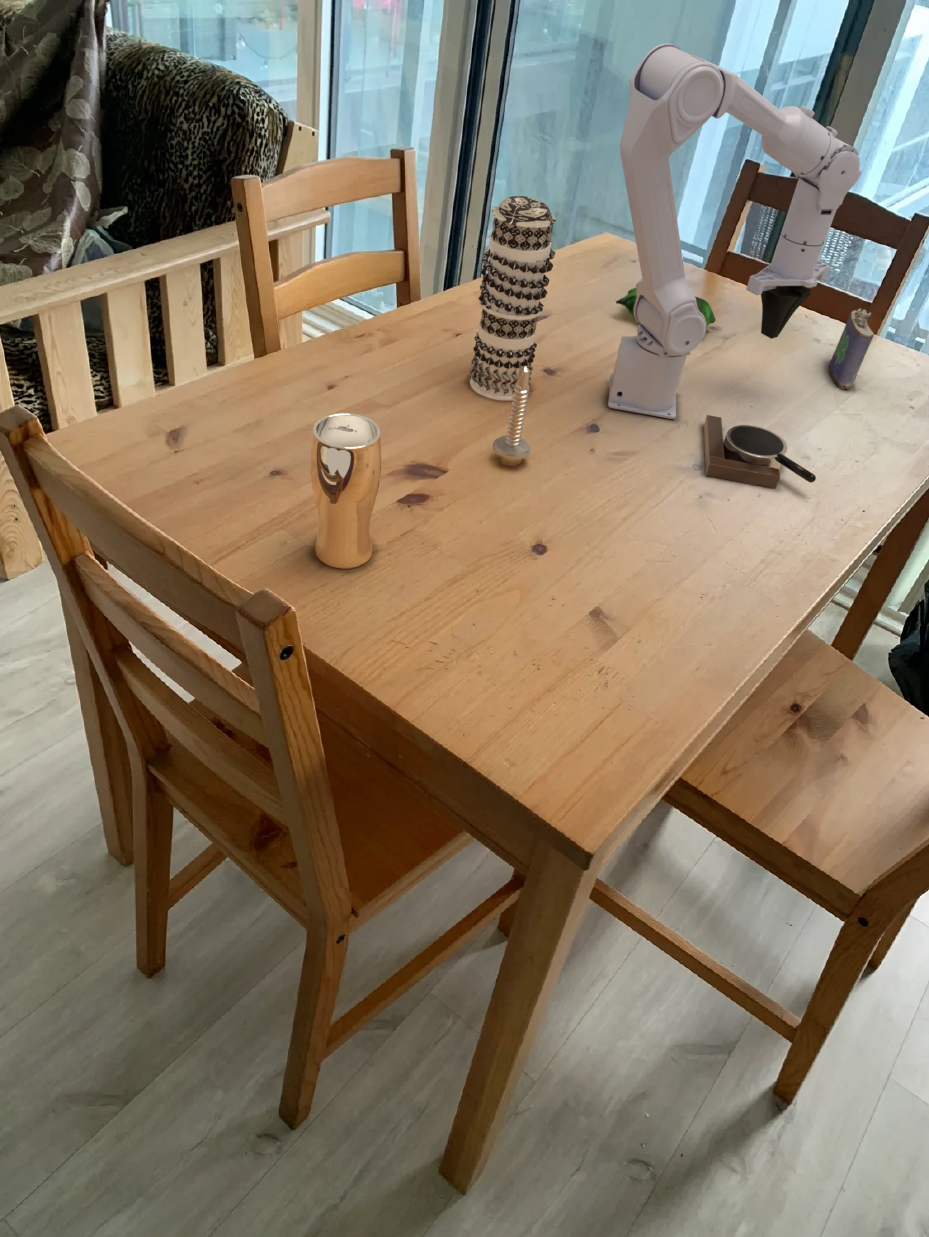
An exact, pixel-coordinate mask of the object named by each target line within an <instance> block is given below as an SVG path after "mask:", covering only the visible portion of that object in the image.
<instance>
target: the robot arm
mask: <svg viewBox="0 0 929 1237" xmlns="http://www.w3.org/2000/svg"><path fill="white" fill-rule="evenodd" d="M628 84H629V94H630V95H629V96H630V100H629V103H628V107H627V111H626V116H625V121H624V125H623V128H622V133H621V138H620V142H619V155H620V160H621V166H622V172H623V177H624V182H625V188H626V195H627V200H628V205H629V211H630V216H631V222H632V223H631V224H632V228H633V233H634V238H635V239H634V240H635V245H636V250H637V256H638V262H639V267H640V273H641V279H639V281H638V282H637V283H635V288H636V290H637V298H636V302H635V305H634V316H635V318H634V319H635V321H636V322H637V323H638V324H637V329H636V333H637V334H636V335H634V336H633V335H632V336H627V335H623V336H621V339H620V341H619V346H618V349H617V350H618V351H617V355H616V358H615V363H614V367H613V371H612V373H611V374H610V376H609V381H608V387H609V392H608V401H607V406H608V408H610V409H613V410H614V409H615V410H620V411H625V412H626V411H627V412H630V413H631V412H632V413H635V414H636V413H637V414H641V415H648V416H653V417H659V418H664V419H671V420H674V419H676V417H677V391H678V389H679V384H680V381H681V379H682V378H681V377H682V374H683V371H684V367H685V363H686V360H687V358H688V356H690V354H691V352H692V351H694V350H695V349H696V348H697V347H698V346H699V345H700V344H701V343H702V341H703V339H704V337H705V335H706V332H707V330H706V320H705V317H704V316H703V314H702V313H701V312H700V311H699V310H698V308H697V302H696V298H695V297H696V296H695V293H694V292H693V290H692V288H691V286H690V284H689V282H688V280H687V278H686V272H685V266H684V259H683V252H682V245H681V244H682V243H681V237H680V231H679V230H680V229H679V224H678V216H677V208H676V202H675V193H674V187H673V180H672V172H671V165H670V157H671V156H672V154H673V153H674V152H676V151H677V150H678V149H680V147H681V146H682V145H683V144H684V143H686V142H687V140H689V139H690V138H691V137H692V136H693V135H694V134H695V133H696V132H697V131H698V130H699V129H701V128H702V127H703V126H704V125H705V124H706V123H707V122H708V120H710V119H711V118H714V119H718V120H719V119H720V118H722V117H723V116H724V115H725V114H726V113H727V114H728V115H730V116H732V117H733V118H734V119H736V120H738V121H739V122H741V123H742V124H744V125H745V126H747V127H749V128H750V129H751V130H753V131H755V132H756V133H757V134H759V135H761V137H760V138H761V139H760V145H761V150H762V151H763V152H764V153H765V154H766V155H767V156H769V157H770V158H771V159H773V160H774V161H775V162H777V163H779V164H780V165H781V166H783V167H785V168H786V169H787V170H789V171H790V172H791V173H793V174H794V176H795V177H796V179H798V181H797V183H796V186H795V190H794V192H793V195H792V199H791V202H790V204H789V207H788V211H787V214H786V217H785V220H784V222H783V226H782V229H781V232H780V235H779V238H778V241H777V243H776V247H775V251H774V253H773V256H772V258H771V262H770V263H769V264H768V265H767V266H766V267H764V268H763V269H761V270H760V271H759V272H757V273H756V274H752V275H750V276H749V278H748V281H747V284H746V288H745V290H746V291H747V292H750V293H751V294H753V295H755V296H760V299H761V310H762V311H761V324H760V325H761V326H760V328H761V329H760V334H762V335H763V336H765V337H767V338H769V339H771V340H772V339H776V338H778V337H779V335H780V334H781V333H782V331H783V330H784V328H785V327H786V325H787V323H788V321H789V320H790V319H791V317H792V316H793V315H794V313H795V312H796V311H797V310H798V308H799V307H800V306H801V305H802V304H803V303H804V302H805V301H806V300H807V299H809V297H811V296H810V295H811V293H812V289H810V288H815V287H817V286H818V282H819V281H820V282H821V281H825V280H826V279H827V276H828V274H829V270H830V267H831V266H830V265H829V264H826V263H824V262H822V261H820V260H819V259H820V256H821V253H822V250H823V248H824V245H825V243H826V240H827V237H828V234H829V232H830V229H831V226H832V223H833V220H834V217H835V215H836V212H837V210H838V209H839V207H840V206H842V205H843V202H844V199H845V197H846V195H847V194H848V193H849V191H850V190H851V189H852V188H853V187H854V186H855V185H856V184H857V182H858V181H859V179H860V177H861V175H862V173H863V172H862V171H861V170H860V167H861V160H860V159H861V158H860V156H859V155H860V153H859V151H858V150H857V149H856V148H855V147H854V146H852V145H850V144H848V143H846V142H844V141H842V140H841V139H839V138H837V135H838V131H837V130H836V129H834V128H833V127H831V126H826V127H824V126H823V125H822V124H820V123H819V122H818V121H816V119H814V118H813V117H814V115H815V112H814V110H812V109H811V108H809V107H808V106H806V105H803V104H802V105H801V106H800V107H798V106H795V105H789V106H785V107H783V108H780V109H779V108H778V107H777V106H776V105H774V104H773V103H772V102H770V101H769V100H768V99H767V98H766V97H764V96H763V95H762V94H761V93H759V91H757V90H756V89H755V88H753V87H752V85H750V84H748V83H747V82H746V81H745V80H744V79H743V78H742V77H740V76H739V75H737V74H735V73H733V72H731V71H729V70H727V69H725V68H723V67H722V66H719V65H717V64H715V63H713V62H710V61H708V60H706V59H705V58H702V57H700V56H697V55H695V54H693V53H690V52H688V53H687V52H685V51H684V50H682V49H681V48H680V47H679V46H677V45H675V44H673V43H668V42H667V43H660V44H658V45H655V46H654V47H653V48H651V49H650V50H648V51H647V53H646V54H645V55H644V56H643V57H642V59H641V60H640V62H639V64H638V65H637V66H636V69H635V70H634V71H633V73H632V74H631V76H630V78H629V80H628Z"/></svg>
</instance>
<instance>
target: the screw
mask: <svg viewBox="0 0 929 1237" xmlns="http://www.w3.org/2000/svg"><path fill="white" fill-rule="evenodd" d="M529 375H530V370H529V369H528V368H527V367H526V366H523V367H520V369H519V375H518V381H517V384H515V386H516V388H514V391H515V392H514V393H513V395H514V397H513V398H512V399H513V400H511V404H512V405H511V406H510V410H509V413H510V414H509V419H508V424H507V425H508V427H507V430H508V431H506V435H502V436H499V437H497V438H496V439H495V440H493V442H492V450H493V451H494V452H495V453H496V454H497V455H498V456H499V457H498V458H499V460H500V462H501V464H502V465H505V466H509V467H515V466H517V465H520V464H521V463H522V460H523V459H526V458H528V457H529V456H530V455H531V453H532V446H531V444H530V443H529V442H528V441H527V440H526V439H524V438H523V437H522V434H523V430H524V422H525V417H526V413H527V410H526V409H527V407H528V406H527V404H528V400H529V397H528V396H529V395H530V392H529V391H530V386H529V387H528V381H529ZM530 376H531V375H530ZM529 382H530V381H529Z"/></svg>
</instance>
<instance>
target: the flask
mask: <svg viewBox="0 0 929 1237" xmlns="http://www.w3.org/2000/svg"><path fill="white" fill-rule="evenodd" d="M871 315H872V312H869V313H867V310H866V309H862V308H858V309H855V310H852V311H851V312H850V313H849V315H848V318H847V321H846V323H845V325H844V328H843V331H842V333H841V336H840V338H839V341H838V342H837V345H836V347H835V350H834V352H833V354H832V356H831V358H830V360H829V363H828V365H827V369H828V374H830V377H831V379H832V381H833V383H834V384H835V385H836V386H837V387H838V388H839V389H842V390H850V389H852V388H853V385H854V382H855V380H856V378H857V376H858V374H859V371H860V368H861V365H862V364H863V361H864V358H865V357H866V356H865V355H866V354H867V352H868V350H869V347H870V345H871V343H872V340H873V338H874V336H875V333H874V332H873V331H872V329H871V327H870V326H869V324H868V320H869V318H870V317H871Z"/></svg>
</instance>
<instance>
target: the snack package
mask: <svg viewBox="0 0 929 1237" xmlns="http://www.w3.org/2000/svg"><path fill="white" fill-rule="evenodd" d="M636 298H637V290H636V287H633V288H631V289H629V290H628V291H627V294H626V295H625V296H623V297H620V298H619V299H617V300H615V304H616V305H618V304H619V305H622V306H623V307H625V308H626V310H627V311H628V313H629V314H630V316H632V317H633V318H634V319H635V316H634V305H635V302H636ZM695 298H696V302H697V308H698V310H699V311H700V312H701V313H702V314H703V316H704V317H705V320H706V331H707V329H708V327H709V325H711V324H714V323H715V322H716V321H717V320H716V316H715V315H714V312H713V309H712V307H711V305H710V304H709V302H708V301H707V300H706V299H703V298H701V297H698V296H695Z"/></svg>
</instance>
